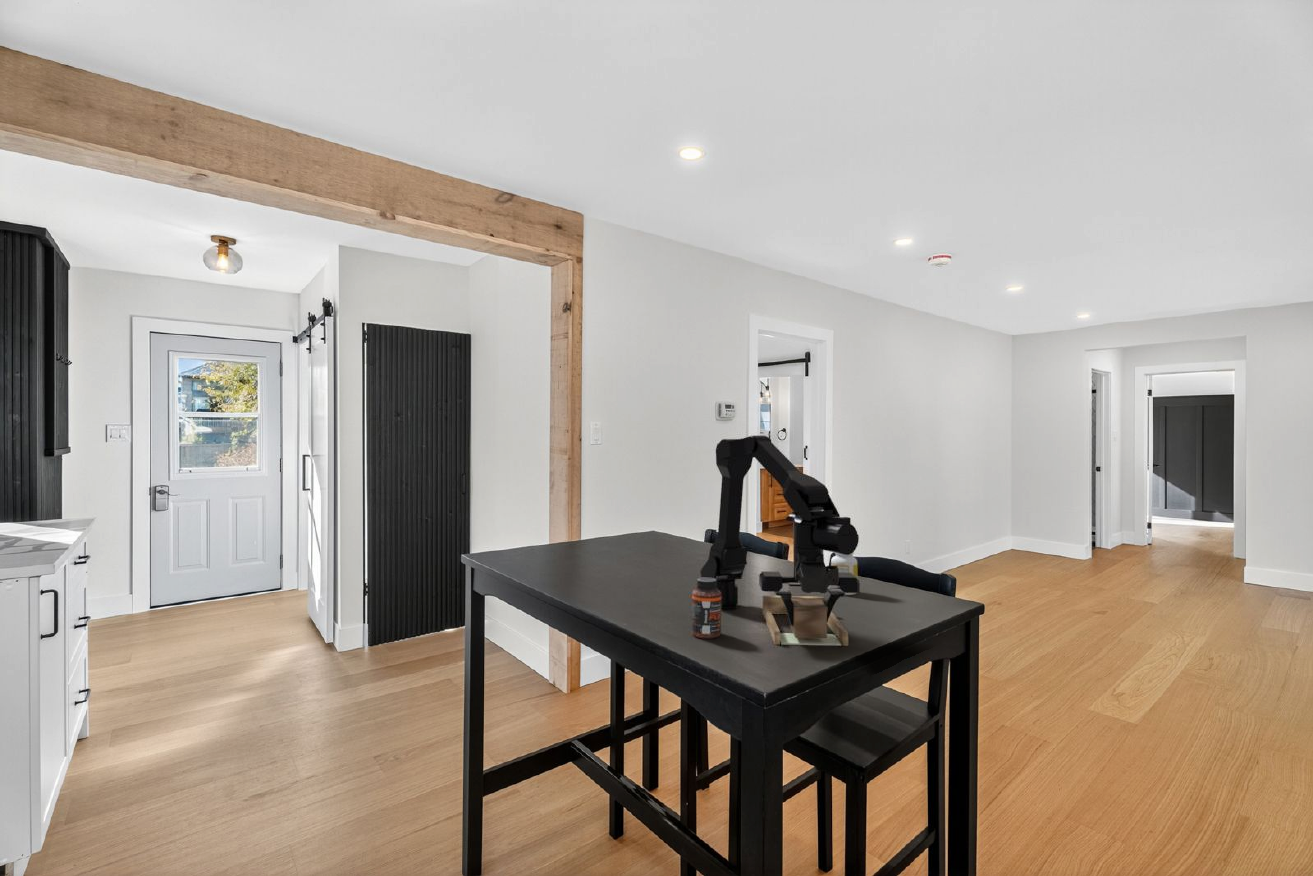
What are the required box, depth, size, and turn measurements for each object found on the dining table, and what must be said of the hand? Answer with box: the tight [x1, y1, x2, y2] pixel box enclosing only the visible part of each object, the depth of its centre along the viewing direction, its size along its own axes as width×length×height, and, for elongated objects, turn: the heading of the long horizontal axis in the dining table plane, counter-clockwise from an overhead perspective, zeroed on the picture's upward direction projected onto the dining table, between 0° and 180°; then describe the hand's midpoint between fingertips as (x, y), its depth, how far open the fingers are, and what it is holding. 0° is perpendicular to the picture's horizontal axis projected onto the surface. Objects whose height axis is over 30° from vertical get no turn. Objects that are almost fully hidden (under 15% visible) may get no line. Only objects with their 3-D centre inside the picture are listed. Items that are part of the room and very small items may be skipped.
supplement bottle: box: [691, 577, 722, 640], centre depth 125 cm, size 6×6×11 cm
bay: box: [762, 595, 849, 647], centre depth 130 cm, size 14×21×4 cm, turn 176°
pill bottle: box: [830, 551, 859, 596], centre depth 159 cm, size 6×6×12 cm
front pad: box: [780, 632, 842, 647], centre depth 122 cm, size 11×6×1 cm, turn 86°
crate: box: [790, 598, 828, 638], centre depth 122 cm, size 6×6×6 cm
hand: (808, 625), depth 122 cm, fingers closed on crate, 6 cm apart
